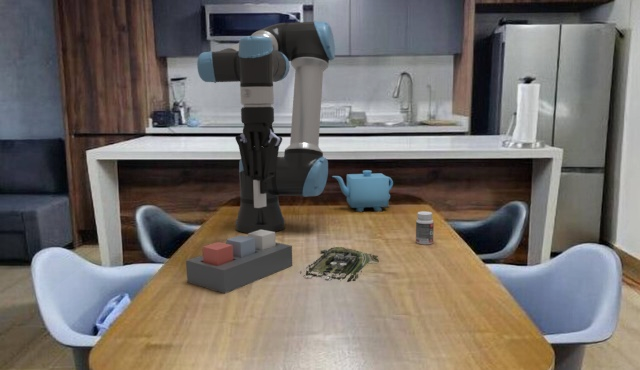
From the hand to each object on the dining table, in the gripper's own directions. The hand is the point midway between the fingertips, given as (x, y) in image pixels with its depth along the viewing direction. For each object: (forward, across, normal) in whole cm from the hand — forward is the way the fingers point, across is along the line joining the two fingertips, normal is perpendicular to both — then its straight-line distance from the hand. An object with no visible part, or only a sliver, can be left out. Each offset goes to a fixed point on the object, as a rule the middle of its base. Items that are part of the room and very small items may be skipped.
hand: (260, 206), depth 126 cm
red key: (+10, 0, -14) cm, 17 cm away
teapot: (+14, -15, +68) cm, 71 cm away
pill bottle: (+15, +23, +41) cm, 49 cm away
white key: (+10, 0, 0) cm, 10 cm away
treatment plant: (+15, +15, +12) cm, 24 cm away
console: (+15, 0, -7) cm, 16 cm away
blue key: (+10, 0, -7) cm, 12 cm away
